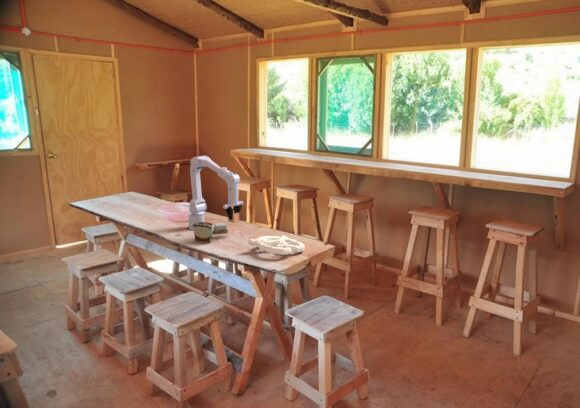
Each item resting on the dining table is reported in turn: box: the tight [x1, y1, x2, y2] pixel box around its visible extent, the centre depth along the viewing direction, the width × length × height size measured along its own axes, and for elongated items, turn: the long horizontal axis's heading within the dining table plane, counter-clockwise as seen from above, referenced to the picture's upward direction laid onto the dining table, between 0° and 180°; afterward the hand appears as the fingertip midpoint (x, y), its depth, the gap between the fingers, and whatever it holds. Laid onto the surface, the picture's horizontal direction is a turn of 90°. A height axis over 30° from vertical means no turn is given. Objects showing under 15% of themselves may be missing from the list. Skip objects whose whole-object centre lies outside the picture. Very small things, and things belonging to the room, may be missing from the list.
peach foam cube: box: [227, 211, 240, 224], centre depth 252 cm, size 4×4×5 cm
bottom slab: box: [213, 228, 229, 235], centre depth 260 cm, size 7×7×2 cm
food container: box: [192, 221, 214, 244], centre depth 242 cm, size 12×6×10 cm, turn 71°
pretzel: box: [247, 235, 306, 256], centre depth 229 cm, size 28×24×6 cm
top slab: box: [213, 222, 228, 230], centre depth 260 cm, size 6×6×2 cm
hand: (233, 218), depth 252 cm, fingers closed on peach foam cube, 4 cm apart
